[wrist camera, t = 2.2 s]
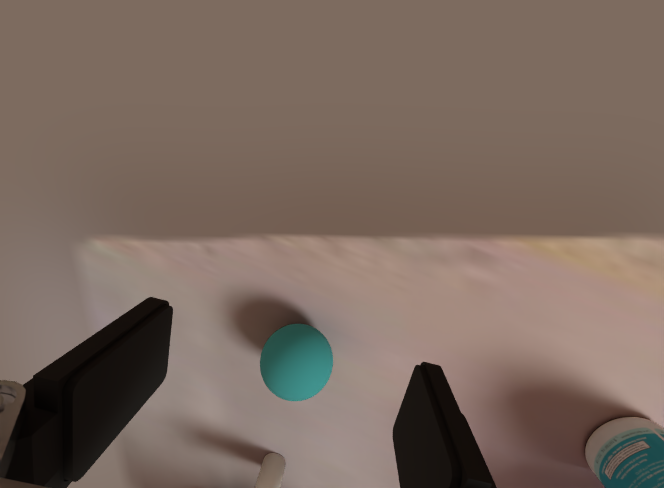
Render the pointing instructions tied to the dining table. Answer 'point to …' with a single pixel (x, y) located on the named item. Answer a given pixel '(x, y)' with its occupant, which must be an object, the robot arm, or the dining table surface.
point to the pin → (271, 471)
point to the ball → (296, 362)
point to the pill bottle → (627, 453)
